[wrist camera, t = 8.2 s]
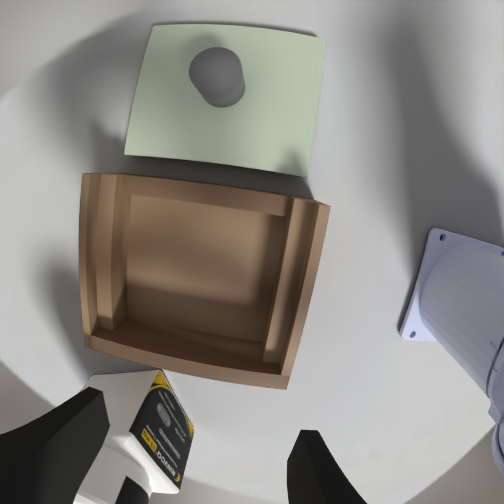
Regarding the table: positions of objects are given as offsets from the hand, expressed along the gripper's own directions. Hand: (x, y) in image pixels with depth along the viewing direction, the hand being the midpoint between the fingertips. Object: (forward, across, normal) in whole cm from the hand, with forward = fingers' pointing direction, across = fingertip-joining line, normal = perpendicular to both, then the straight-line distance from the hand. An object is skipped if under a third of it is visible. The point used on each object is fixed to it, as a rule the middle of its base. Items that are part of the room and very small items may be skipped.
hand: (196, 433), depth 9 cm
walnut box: (+10, +2, -3) cm, 11 cm away
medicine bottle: (+10, +6, +10) cm, 15 cm away
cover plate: (+10, +2, -13) cm, 17 cm away
